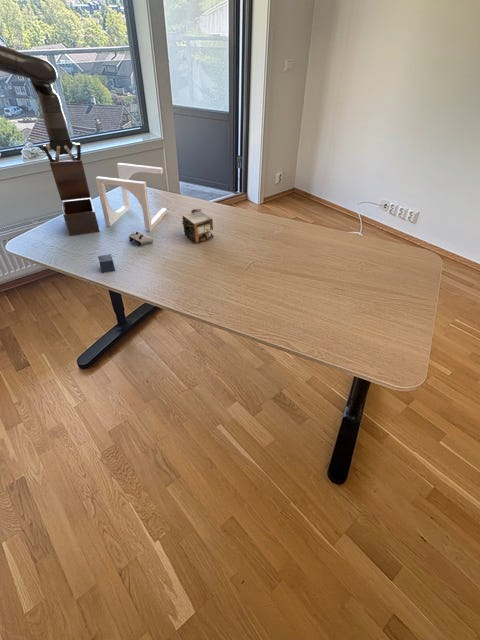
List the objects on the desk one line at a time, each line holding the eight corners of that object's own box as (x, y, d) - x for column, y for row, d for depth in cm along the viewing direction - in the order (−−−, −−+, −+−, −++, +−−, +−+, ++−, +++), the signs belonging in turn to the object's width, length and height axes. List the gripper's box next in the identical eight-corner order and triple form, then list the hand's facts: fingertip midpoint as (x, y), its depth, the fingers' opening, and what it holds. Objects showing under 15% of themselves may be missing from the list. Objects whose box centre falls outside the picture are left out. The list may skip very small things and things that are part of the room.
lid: (81, 160, 136) (80, 155, 139) (49, 163, 132) (48, 157, 135) (90, 197, 147) (89, 191, 150) (61, 200, 143) (60, 194, 146)
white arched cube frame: (126, 207, 163) (118, 162, 150) (167, 212, 160) (162, 167, 147) (106, 225, 148) (95, 177, 135) (150, 231, 146) (143, 183, 132)
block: (102, 273, 121) (99, 262, 118) (100, 266, 124) (97, 256, 121) (115, 270, 122) (112, 260, 120) (113, 264, 125) (110, 253, 123)
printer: (203, 227, 154) (201, 206, 148) (224, 251, 136) (223, 228, 130) (179, 231, 150) (176, 210, 144) (197, 257, 132) (195, 234, 126)
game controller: (155, 240, 138) (145, 234, 133) (149, 251, 139) (139, 246, 133) (139, 232, 143) (129, 226, 137) (133, 243, 143) (123, 238, 138)
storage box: (99, 231, 144) (94, 211, 138) (69, 236, 140) (63, 215, 134) (95, 217, 153) (90, 197, 148) (67, 220, 150) (61, 201, 144)
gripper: (75, 122, 135) (86, 167, 146) (35, 123, 130) (49, 170, 141) (77, 126, 130) (88, 173, 141) (35, 128, 125) (49, 176, 136)
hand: (68, 171), depth 141 cm, fingers closed on lid, 5 cm apart
